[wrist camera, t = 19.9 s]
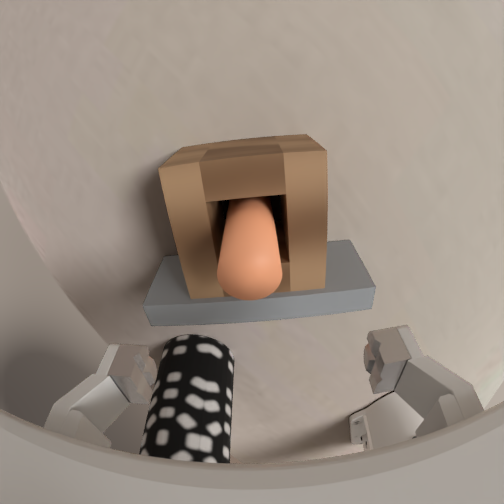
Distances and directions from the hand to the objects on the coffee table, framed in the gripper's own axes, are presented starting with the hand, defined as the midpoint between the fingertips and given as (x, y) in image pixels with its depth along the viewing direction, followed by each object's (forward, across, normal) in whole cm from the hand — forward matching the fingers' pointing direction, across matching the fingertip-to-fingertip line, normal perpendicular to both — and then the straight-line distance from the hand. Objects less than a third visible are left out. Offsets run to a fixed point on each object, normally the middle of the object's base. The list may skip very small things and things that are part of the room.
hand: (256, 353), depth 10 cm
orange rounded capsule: (+14, 0, -1) cm, 14 cm away
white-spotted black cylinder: (+15, +8, +18) cm, 24 cm away
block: (+14, 0, -1) cm, 14 cm away
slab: (+14, 0, +5) cm, 15 cm away
